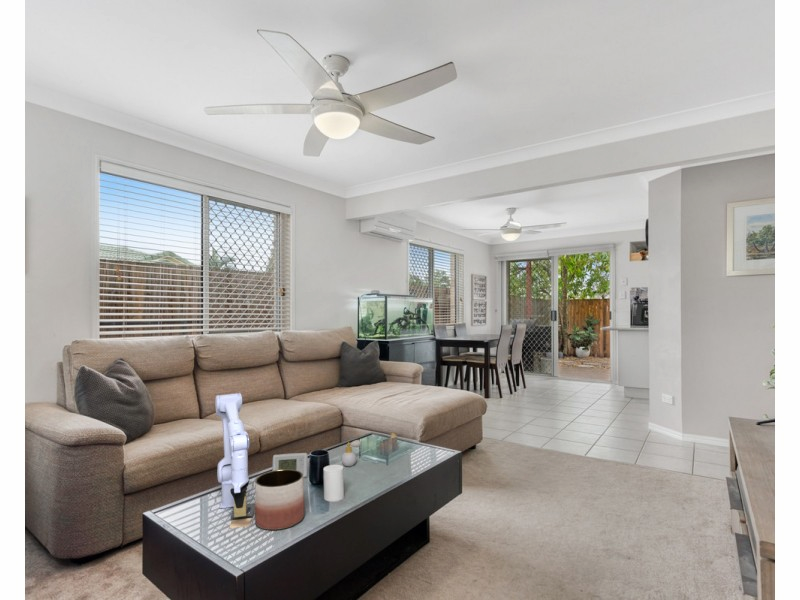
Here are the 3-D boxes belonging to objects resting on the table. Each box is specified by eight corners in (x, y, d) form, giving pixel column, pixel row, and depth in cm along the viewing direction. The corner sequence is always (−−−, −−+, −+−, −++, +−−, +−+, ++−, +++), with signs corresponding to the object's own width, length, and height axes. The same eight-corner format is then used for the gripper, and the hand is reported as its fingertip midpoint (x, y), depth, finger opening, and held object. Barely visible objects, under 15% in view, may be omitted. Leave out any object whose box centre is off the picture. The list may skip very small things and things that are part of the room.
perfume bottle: (338, 466, 219) (337, 441, 219) (353, 460, 226) (352, 437, 226) (348, 469, 214) (347, 444, 214) (363, 464, 221) (362, 440, 221)
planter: (306, 527, 158) (305, 482, 158) (254, 535, 153) (253, 490, 153) (302, 506, 175) (302, 466, 175) (255, 513, 170) (255, 472, 170)
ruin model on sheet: (393, 449, 243) (392, 432, 243) (397, 450, 241) (397, 433, 241) (379, 455, 234) (379, 437, 234) (384, 456, 232) (383, 438, 233)
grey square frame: (234, 510, 173) (234, 505, 173) (255, 507, 175) (255, 503, 175) (230, 521, 164) (230, 516, 164) (253, 518, 166) (253, 513, 166)
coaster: (231, 522, 163) (231, 520, 163) (251, 519, 165) (251, 517, 165) (229, 528, 158) (229, 526, 158) (249, 525, 160) (249, 524, 160)
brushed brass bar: (235, 512, 163) (235, 493, 163) (247, 510, 164) (246, 492, 164) (234, 517, 159) (233, 497, 159) (245, 515, 160) (245, 496, 160)
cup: (336, 491, 188) (335, 463, 188) (347, 496, 182) (347, 467, 183) (320, 497, 182) (319, 468, 183) (331, 503, 177) (331, 473, 177)
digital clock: (270, 481, 202) (269, 457, 202) (277, 473, 211) (276, 451, 211) (304, 481, 201) (304, 457, 201) (310, 473, 210) (309, 451, 210)
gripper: (231, 462, 168) (231, 498, 168) (224, 476, 154) (225, 515, 154) (250, 460, 170) (251, 495, 169) (245, 473, 155) (246, 512, 155)
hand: (240, 505), depth 162 cm, fingers closed on brushed brass bar, 4 cm apart
